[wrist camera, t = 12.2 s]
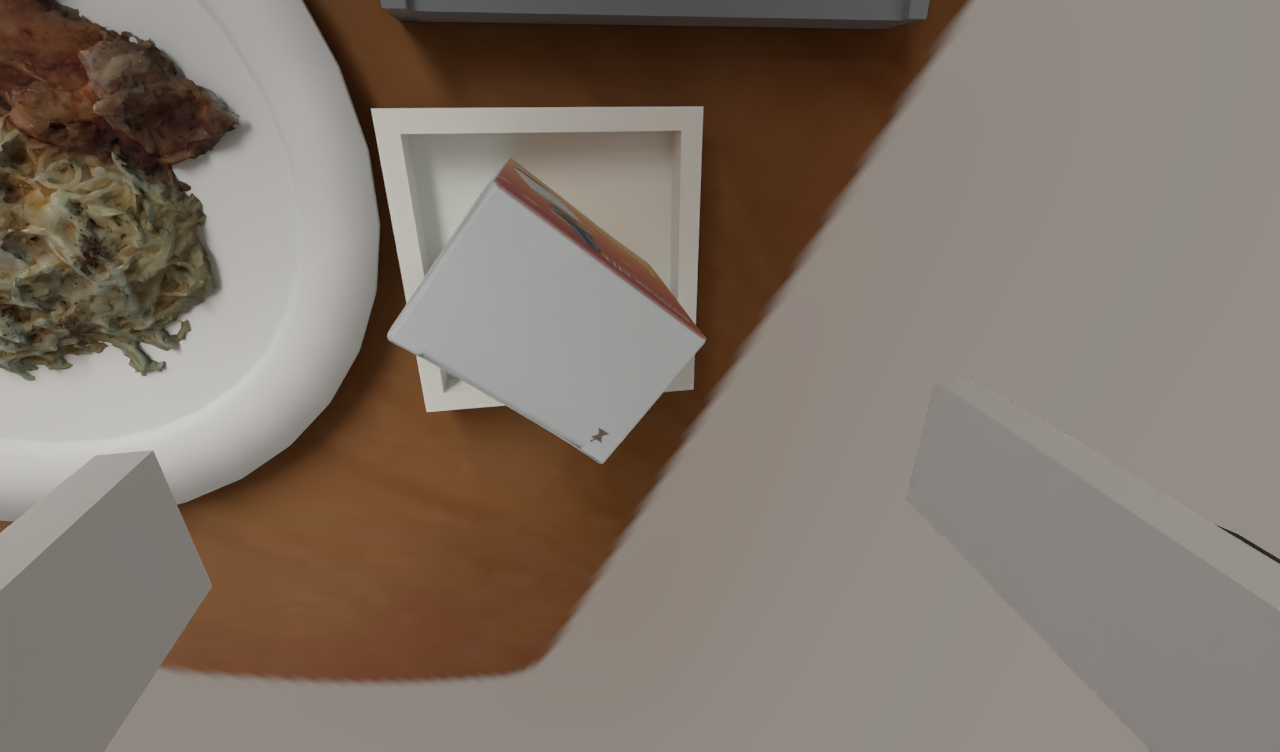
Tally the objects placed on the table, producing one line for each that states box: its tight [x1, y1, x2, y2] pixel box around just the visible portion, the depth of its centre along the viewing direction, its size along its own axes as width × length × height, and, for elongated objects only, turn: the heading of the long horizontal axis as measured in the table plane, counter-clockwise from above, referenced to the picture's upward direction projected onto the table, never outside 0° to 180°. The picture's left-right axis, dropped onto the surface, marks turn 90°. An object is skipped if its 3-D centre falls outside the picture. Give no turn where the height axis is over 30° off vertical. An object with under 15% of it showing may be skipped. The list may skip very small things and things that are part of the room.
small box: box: [387, 158, 706, 464], centre depth 22 cm, size 8×6×10 cm
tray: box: [371, 106, 703, 412], centre depth 26 cm, size 13×13×2 cm
